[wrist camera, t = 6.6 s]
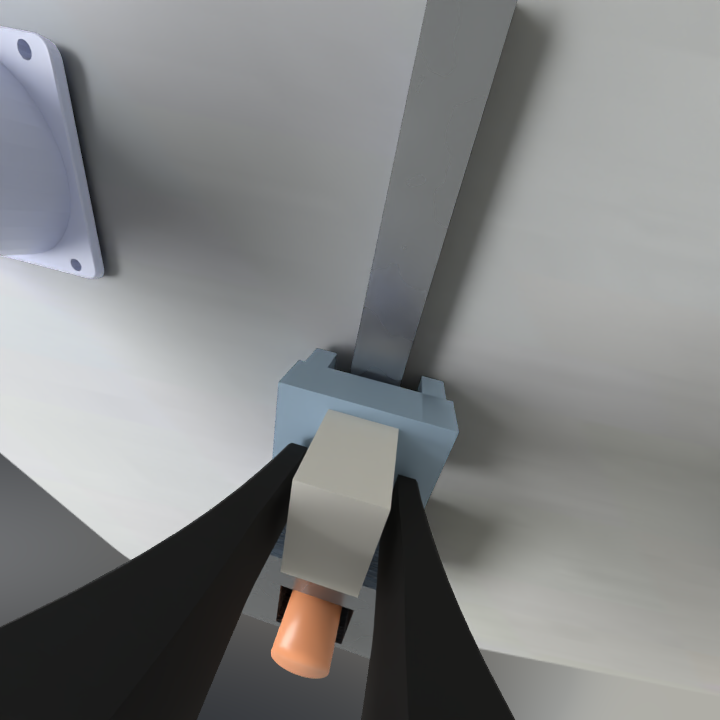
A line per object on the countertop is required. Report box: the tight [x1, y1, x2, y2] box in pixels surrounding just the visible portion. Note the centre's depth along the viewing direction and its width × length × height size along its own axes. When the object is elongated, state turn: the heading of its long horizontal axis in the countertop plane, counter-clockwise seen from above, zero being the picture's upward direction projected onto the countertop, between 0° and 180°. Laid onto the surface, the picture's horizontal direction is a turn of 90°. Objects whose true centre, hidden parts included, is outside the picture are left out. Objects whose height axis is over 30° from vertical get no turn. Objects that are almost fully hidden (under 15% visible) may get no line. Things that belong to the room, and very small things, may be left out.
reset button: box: [271, 590, 342, 678], centre depth 13 cm, size 2×2×4 cm
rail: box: [350, 0, 517, 387], centre depth 11 cm, size 2×18×2 cm, turn 168°
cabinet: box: [242, 523, 380, 659], centre depth 14 cm, size 8×6×5 cm
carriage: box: [272, 348, 459, 598], centre depth 10 cm, size 6×5×6 cm
